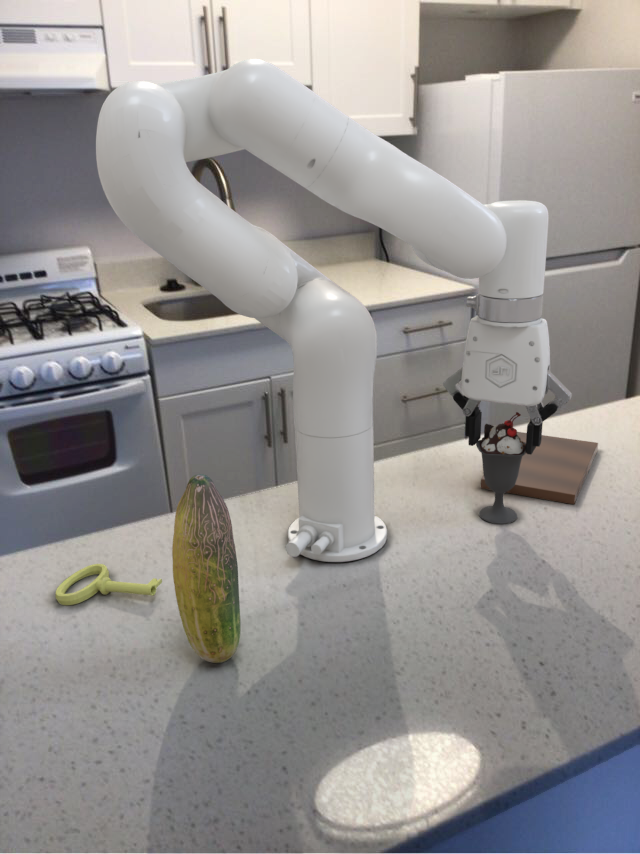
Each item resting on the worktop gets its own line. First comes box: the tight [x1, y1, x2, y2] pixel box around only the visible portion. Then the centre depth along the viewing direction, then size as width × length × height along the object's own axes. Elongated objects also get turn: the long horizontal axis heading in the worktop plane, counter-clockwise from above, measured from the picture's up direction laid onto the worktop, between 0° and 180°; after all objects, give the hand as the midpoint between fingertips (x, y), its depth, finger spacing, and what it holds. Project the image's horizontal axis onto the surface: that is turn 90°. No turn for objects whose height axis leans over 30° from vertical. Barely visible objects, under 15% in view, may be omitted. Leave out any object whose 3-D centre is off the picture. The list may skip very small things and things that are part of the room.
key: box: [55, 563, 163, 606], centre depth 87 cm, size 7×12×2 cm, turn 88°
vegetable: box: [171, 473, 241, 664], centre depth 72 cm, size 6×6×20 cm
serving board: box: [480, 431, 599, 505], centre depth 113 cm, size 20×13×2 cm, turn 153°
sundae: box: [475, 411, 526, 525], centre depth 98 cm, size 7×7×15 cm
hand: (502, 445), depth 97 cm, fingers closed on sundae, 6 cm apart
